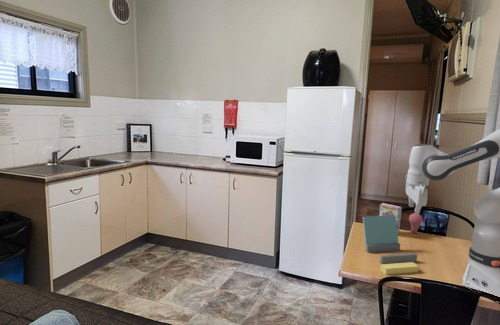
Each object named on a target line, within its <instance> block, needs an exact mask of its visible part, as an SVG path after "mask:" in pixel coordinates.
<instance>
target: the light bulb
mask: <svg viewBox="0 0 500 325" xmlns="http://www.w3.org/2000/svg"><path fill="white" fill-rule="evenodd" d="M408 222H409V223H410V227H411V228H410V232H411V233H412V234H417V233H418V231H419V230H418V229H419V228H420V226H421V225H422V223H423V217H422V215H421V214H420V213H419V214H418V213H415V212H412V213H411V214H410V215H409V217H408Z"/></svg>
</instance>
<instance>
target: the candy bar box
mask: <svg viewBox="0 0 500 325" xmlns="http://www.w3.org/2000/svg"><path fill="white" fill-rule="evenodd" d="M402 210H403V208H402V206H398V205H393V204H389V203H385V202H382V203H381V204H379V211H378V216H388V215H395V219H396V227H397V235H399V234H400V227H401V226H400V225H401V218H402Z"/></svg>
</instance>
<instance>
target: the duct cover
mask: <svg viewBox="0 0 500 325" xmlns="http://www.w3.org/2000/svg"><path fill="white" fill-rule="evenodd" d="M362 224H363V234H364V243H365V246H366V245H370V244H386V243H399V236H398V235H399V234H398V235H397V227H396V219H395V215H388V216H379V215H372V216H371V215H367V216H362Z"/></svg>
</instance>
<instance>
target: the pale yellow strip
mask: <svg viewBox="0 0 500 325" xmlns="http://www.w3.org/2000/svg"><path fill="white" fill-rule="evenodd" d="M419 269H420V266H419V265H418V264H416V262H404V263H391V264H380V269H379V270H380V271H381V272H382V273H383V274H385V275H386V276H387V275H395V274H396V275H397V274H410V273H419V271H420V270H419Z"/></svg>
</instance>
